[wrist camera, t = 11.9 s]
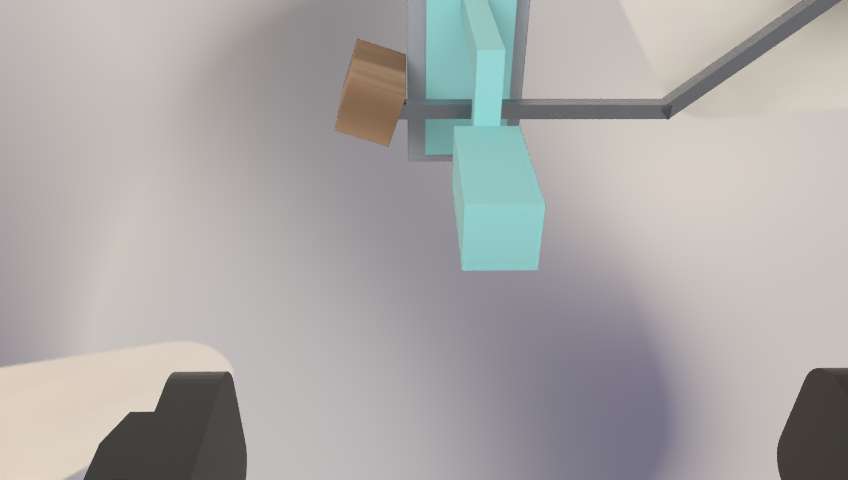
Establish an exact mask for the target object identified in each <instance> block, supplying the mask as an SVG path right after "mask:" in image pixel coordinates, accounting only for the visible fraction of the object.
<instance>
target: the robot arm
mask: <svg viewBox="0 0 848 480" xmlns="http://www.w3.org/2000/svg"><path fill="white" fill-rule="evenodd" d="M777 462H778V469H779V473H780V477H781V480H848V368H816V369H813V370H812V371H810V372H809V374H808V375H807V377H806V378H805V380H804V383H803V385H802V387H801V390H800V392H799V395H798V397H797V399H796V402H795V404H794V407H793V409H792V411H791V413H790V416H789V418H788V420H787V423H786V425H785V428H784V430H783V432H782V435H781V437H780V440H779V443H778V448H777ZM246 467H247V453H246V444H245V438H244V433H243V428H242V423H241V418H240V413H239V407H238V402H237V397H236V392H235V387H234V382H233V378H232V375H231V374H230V373H229V372H174V373H172V374H171V375H170V376H169V378H168V380H167V382H166V384H165V386H164V389H163V392H162V394H161V397H160V399H159V402H158V404H157V407H156V409H155V412H130V413H129V414H128V415H127V416H126V417H125V418H124V419H123V420H122V421H121V422H120V423H119V424H118V425H117V426H116V427H115V428H114V429H113V430H112V431H111V432H110V433H109V434H108V436H107V437H106V438H105V439H104V440H103V441H102V442H101V443H100V444H99V447H98V449H97V451H96V453H95V455H94V457H93V460H92V462H91V464H90V466H89V468H88V471H87V473H86V475H85V477H84V480H246Z"/></svg>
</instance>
